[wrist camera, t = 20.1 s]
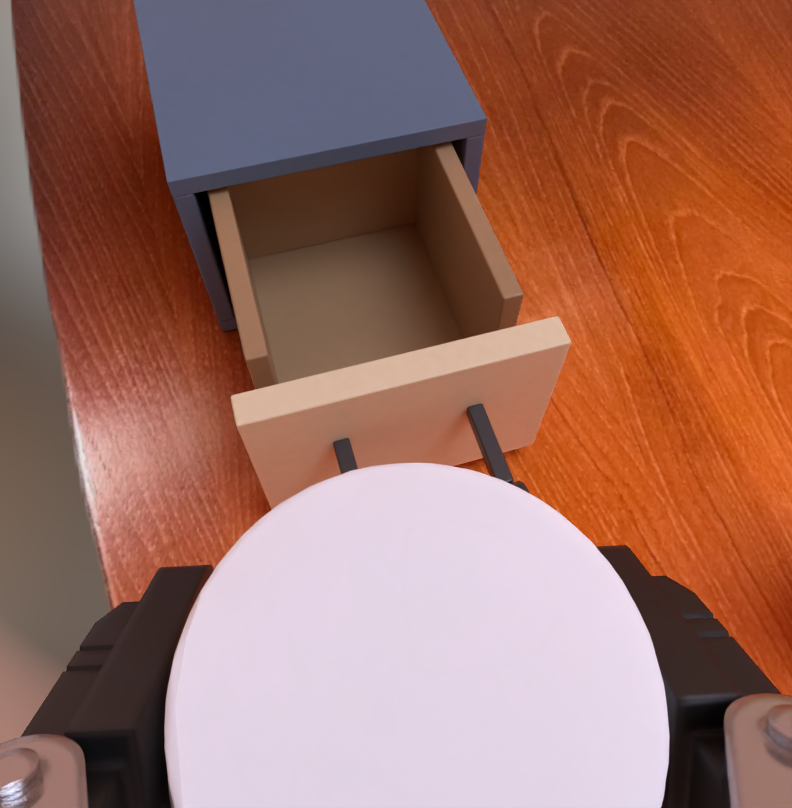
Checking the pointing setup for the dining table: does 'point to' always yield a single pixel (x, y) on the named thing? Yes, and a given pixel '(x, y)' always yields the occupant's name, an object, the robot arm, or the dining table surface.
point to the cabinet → (294, 97)
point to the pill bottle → (415, 657)
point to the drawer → (378, 322)
